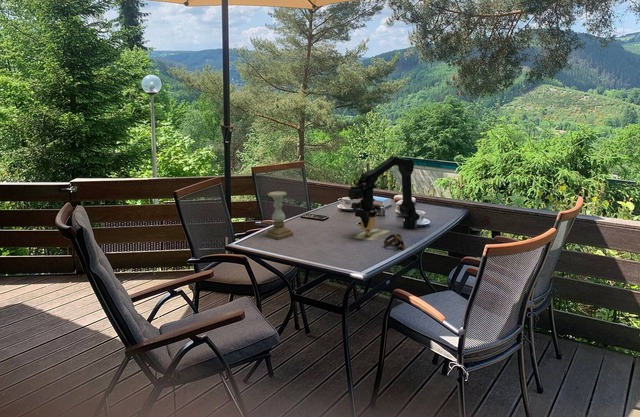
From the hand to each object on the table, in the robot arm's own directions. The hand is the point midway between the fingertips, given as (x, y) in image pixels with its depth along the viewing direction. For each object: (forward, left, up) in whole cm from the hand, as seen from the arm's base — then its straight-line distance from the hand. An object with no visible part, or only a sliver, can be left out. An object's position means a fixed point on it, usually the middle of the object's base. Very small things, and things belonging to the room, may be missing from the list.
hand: (368, 226), depth 253 cm
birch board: (0, -5, -6) cm, 8 cm away
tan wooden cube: (0, 0, -1) cm, 1 cm away
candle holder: (+45, +17, -7) cm, 49 cm away
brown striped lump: (-19, +9, -7) cm, 22 cm away
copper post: (0, 0, -6) cm, 6 cm away
